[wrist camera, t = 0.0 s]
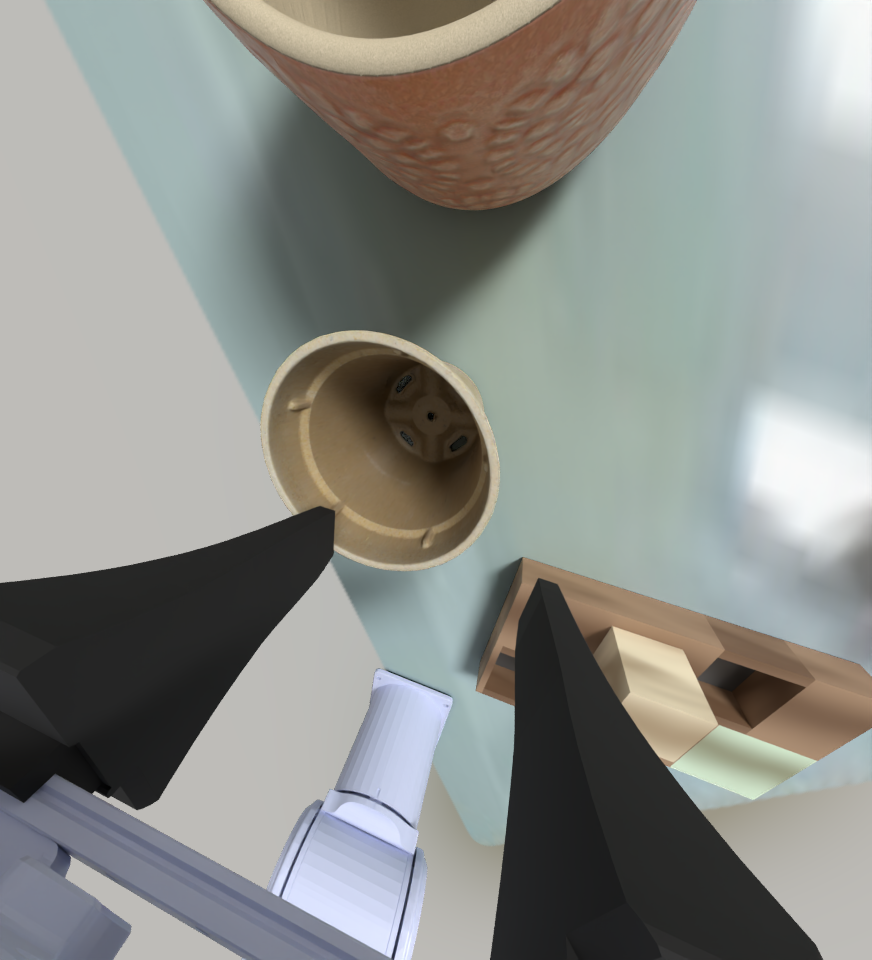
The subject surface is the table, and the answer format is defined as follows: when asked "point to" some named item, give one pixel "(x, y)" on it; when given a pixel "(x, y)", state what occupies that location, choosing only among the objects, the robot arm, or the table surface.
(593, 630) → the board
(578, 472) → the table surface
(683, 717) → the birch block
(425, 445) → the flower pot
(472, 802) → the table surface
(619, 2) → the planter
